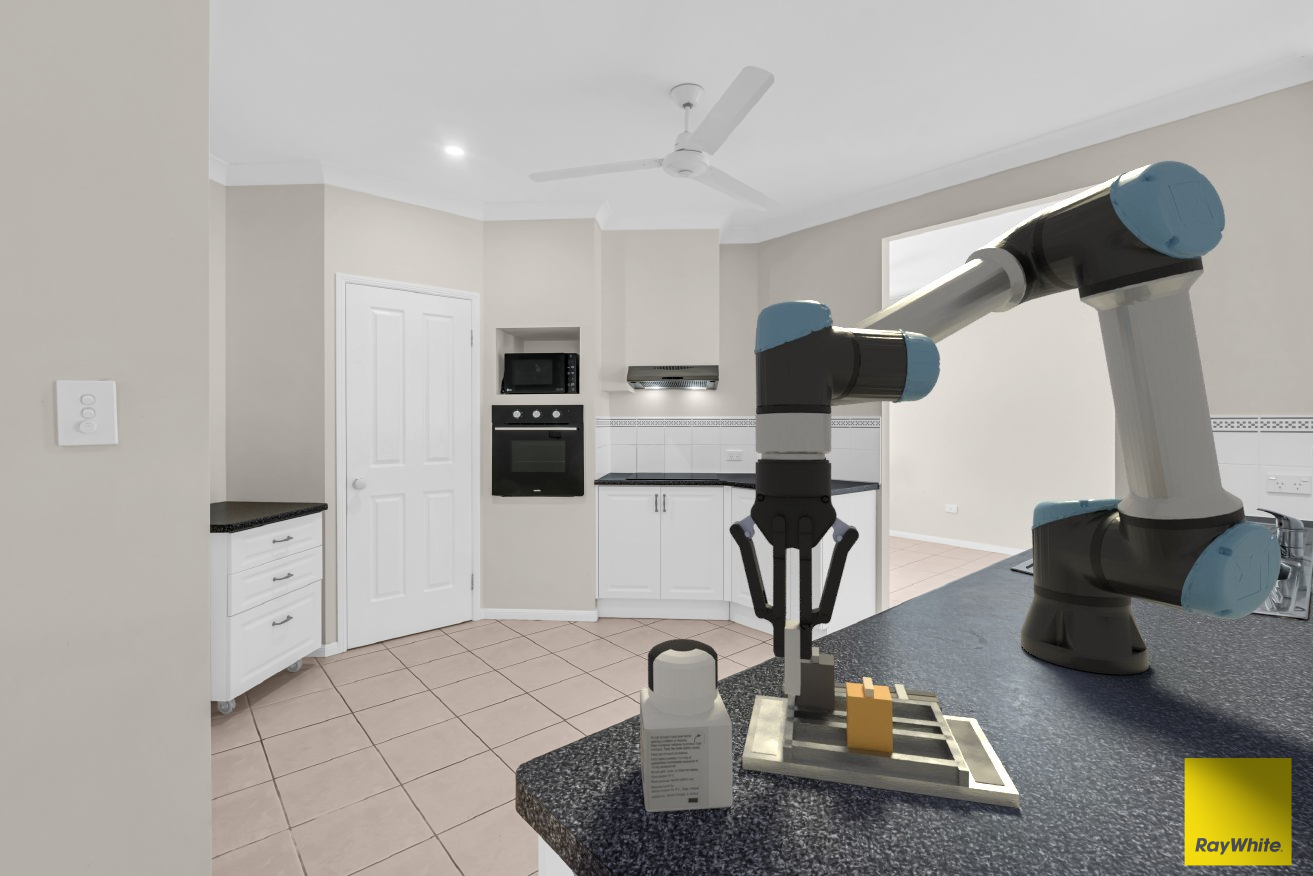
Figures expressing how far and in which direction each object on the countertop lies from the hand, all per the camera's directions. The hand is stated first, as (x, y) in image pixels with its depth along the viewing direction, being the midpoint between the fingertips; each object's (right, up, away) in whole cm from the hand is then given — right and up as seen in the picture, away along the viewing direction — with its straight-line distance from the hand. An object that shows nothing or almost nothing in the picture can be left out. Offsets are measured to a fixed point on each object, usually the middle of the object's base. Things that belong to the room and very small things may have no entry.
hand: (792, 688), depth 58 cm
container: (-11, -7, -5) cm, 14 cm away
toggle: (+4, -6, +7) cm, 10 cm away
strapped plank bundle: (+11, -7, +12) cm, 18 cm away
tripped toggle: (+7, -5, -2) cm, 9 cm away
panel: (+8, -7, +2) cm, 11 cm away
